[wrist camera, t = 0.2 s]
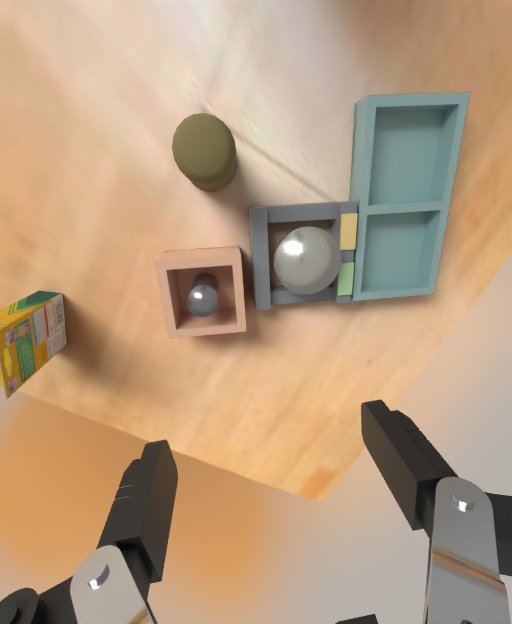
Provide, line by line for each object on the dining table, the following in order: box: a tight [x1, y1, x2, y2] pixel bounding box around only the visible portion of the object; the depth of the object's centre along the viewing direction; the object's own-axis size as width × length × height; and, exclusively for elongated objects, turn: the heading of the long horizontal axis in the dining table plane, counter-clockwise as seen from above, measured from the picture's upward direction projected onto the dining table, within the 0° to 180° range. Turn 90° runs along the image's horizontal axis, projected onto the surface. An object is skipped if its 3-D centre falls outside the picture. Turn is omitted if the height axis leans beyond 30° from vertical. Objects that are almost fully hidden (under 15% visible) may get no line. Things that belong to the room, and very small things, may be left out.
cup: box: [155, 246, 246, 338], centre depth 35 cm, size 9×9×6 cm
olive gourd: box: [172, 113, 237, 191], centre depth 28 cm, size 6×6×11 cm
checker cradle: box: [248, 201, 358, 311], centre depth 36 cm, size 12×12×4 cm
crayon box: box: [0, 291, 67, 398], centre depth 32 cm, size 7×3×12 cm, turn 172°
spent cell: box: [187, 273, 219, 317], centre depth 34 cm, size 3×3×7 cm
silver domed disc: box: [273, 226, 341, 295], centre depth 35 cm, size 8×8×4 cm
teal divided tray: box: [349, 92, 470, 301], centre depth 35 cm, size 22×11×3 cm, turn 3°
